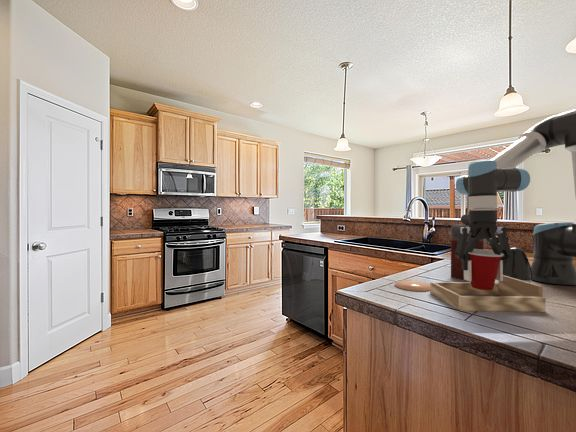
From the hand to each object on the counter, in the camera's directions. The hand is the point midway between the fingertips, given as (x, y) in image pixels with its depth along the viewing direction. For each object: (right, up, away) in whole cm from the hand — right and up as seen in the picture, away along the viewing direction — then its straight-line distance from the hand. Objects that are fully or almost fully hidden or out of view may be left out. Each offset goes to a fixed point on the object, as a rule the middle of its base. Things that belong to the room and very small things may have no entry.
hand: (483, 280), depth 90 cm
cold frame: (0, -7, 0) cm, 7 cm away
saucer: (-14, -7, +18) cm, 24 cm away
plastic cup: (0, -3, 0) cm, 3 cm away
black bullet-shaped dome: (+26, -7, +19) cm, 33 cm away
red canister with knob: (+15, -7, +31) cm, 35 cm away
